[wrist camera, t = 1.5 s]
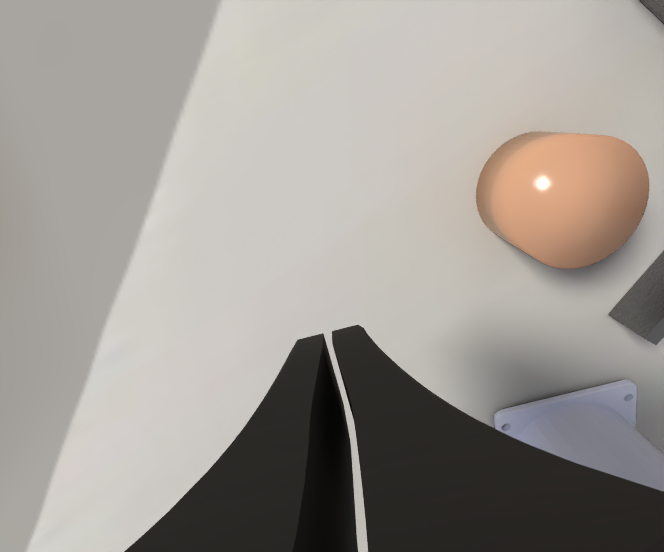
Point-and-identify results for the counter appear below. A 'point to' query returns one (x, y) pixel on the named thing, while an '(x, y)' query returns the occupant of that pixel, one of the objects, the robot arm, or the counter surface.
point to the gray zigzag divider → (646, 276)
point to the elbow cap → (564, 195)
